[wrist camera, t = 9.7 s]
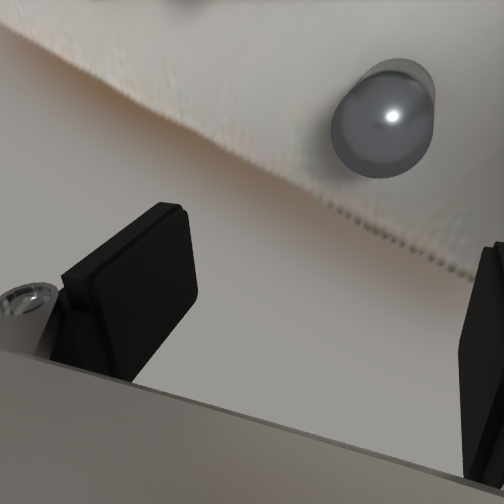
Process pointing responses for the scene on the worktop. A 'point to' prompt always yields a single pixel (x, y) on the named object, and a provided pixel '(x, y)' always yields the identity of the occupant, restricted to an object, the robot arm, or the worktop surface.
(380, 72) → the metal cylinder
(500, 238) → the worktop surface
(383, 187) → the worktop surface
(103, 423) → the robot arm
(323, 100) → the worktop surface
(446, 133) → the worktop surface
